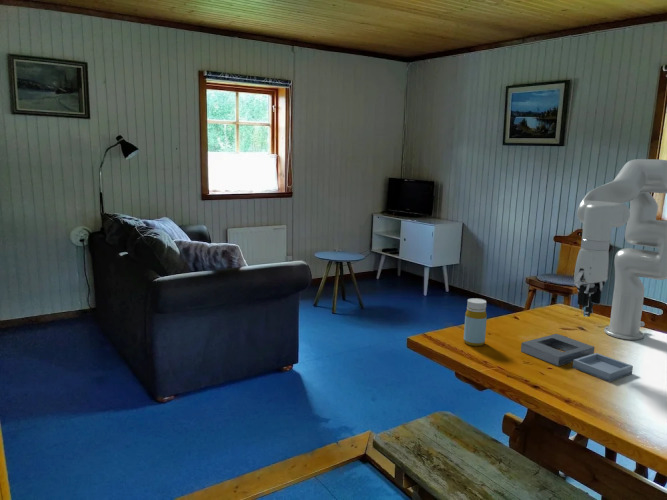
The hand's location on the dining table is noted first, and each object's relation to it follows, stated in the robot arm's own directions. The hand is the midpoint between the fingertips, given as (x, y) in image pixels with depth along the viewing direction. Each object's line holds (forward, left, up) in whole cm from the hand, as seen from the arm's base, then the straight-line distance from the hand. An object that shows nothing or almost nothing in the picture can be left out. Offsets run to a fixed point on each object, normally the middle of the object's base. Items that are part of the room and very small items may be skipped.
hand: (588, 303), depth 159 cm
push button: (0, 0, -4) cm, 4 cm away
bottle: (+17, -29, -20) cm, 39 cm away
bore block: (0, -9, -19) cm, 21 cm away
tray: (0, +7, -19) cm, 20 cm away
